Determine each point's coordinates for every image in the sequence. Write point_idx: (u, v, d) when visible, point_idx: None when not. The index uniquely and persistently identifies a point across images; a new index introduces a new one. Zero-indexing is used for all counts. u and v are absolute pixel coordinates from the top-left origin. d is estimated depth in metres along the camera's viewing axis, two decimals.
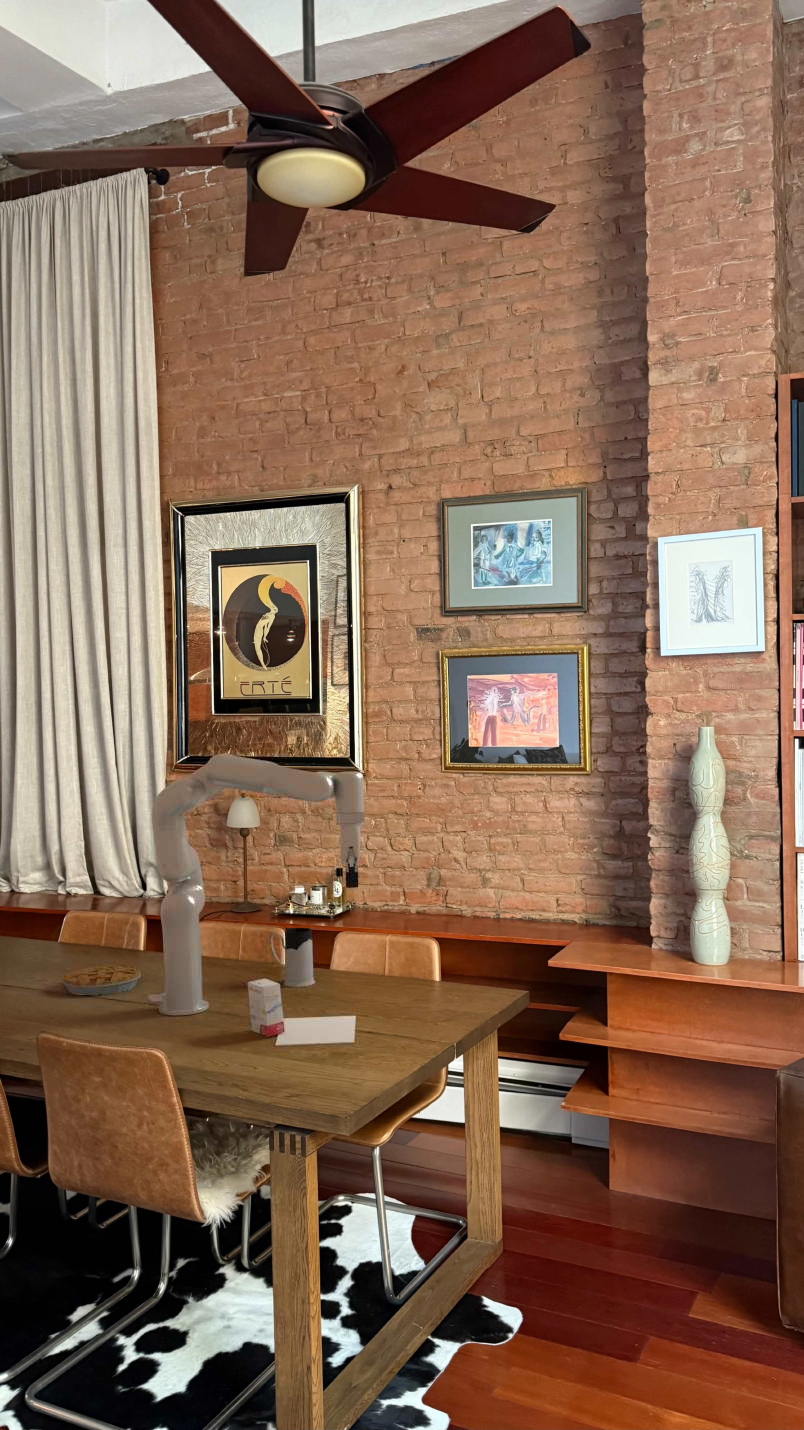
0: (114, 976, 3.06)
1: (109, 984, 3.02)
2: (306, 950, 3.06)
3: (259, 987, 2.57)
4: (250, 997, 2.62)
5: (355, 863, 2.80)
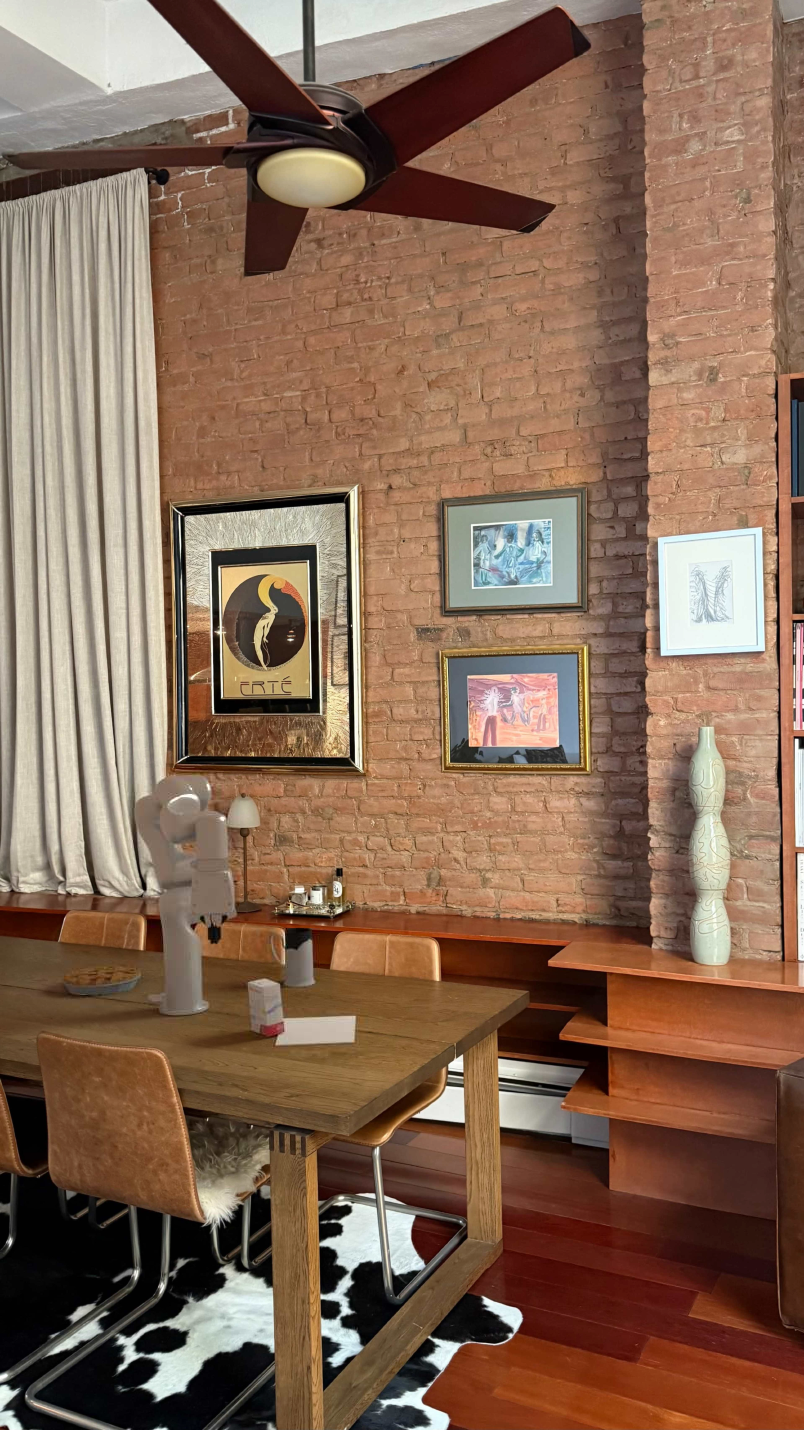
0: (114, 976, 3.06)
1: (109, 984, 3.02)
2: (306, 950, 3.06)
3: (259, 987, 2.57)
4: (250, 997, 2.62)
5: None
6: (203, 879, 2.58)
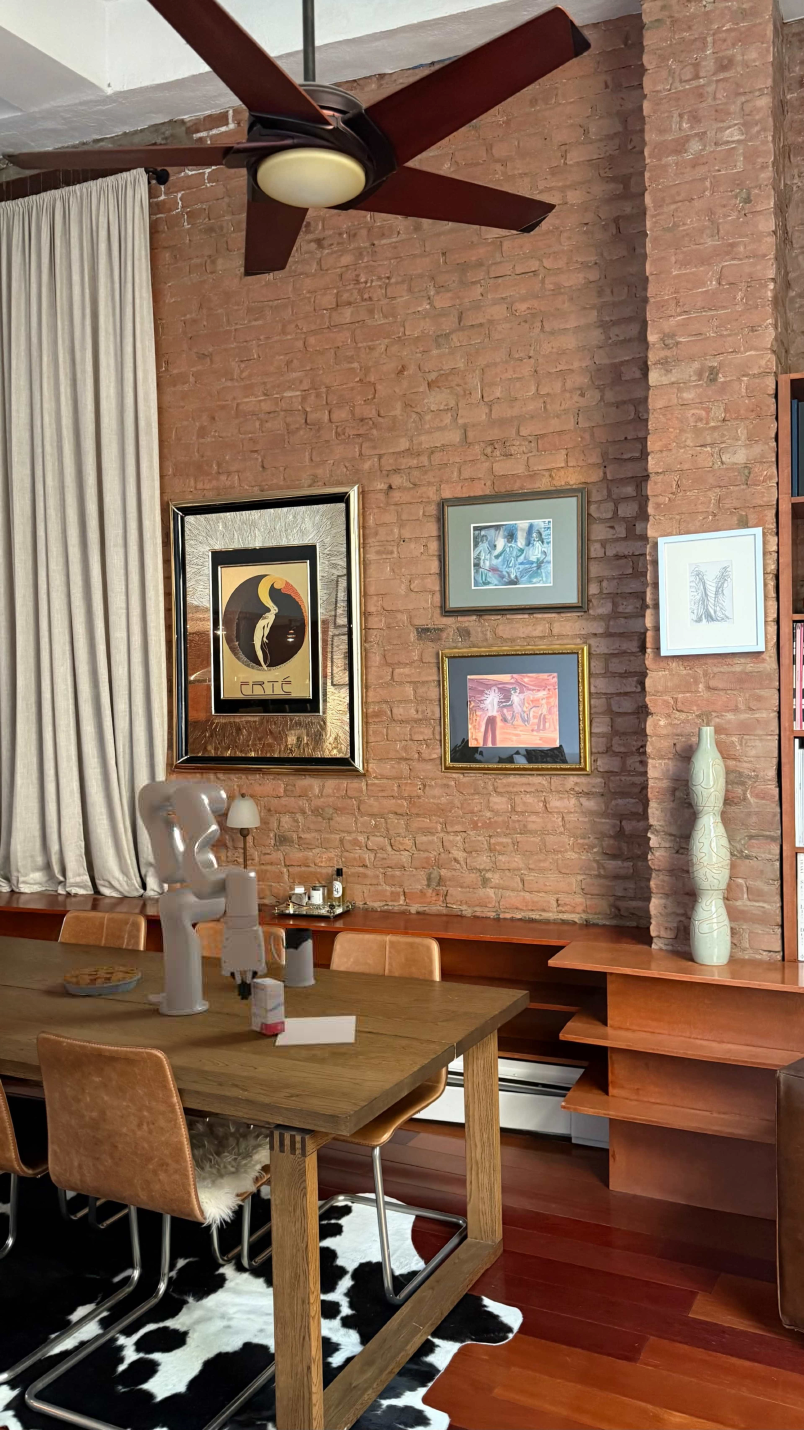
0: (114, 976, 3.06)
1: (109, 984, 3.02)
2: (306, 950, 3.06)
3: (263, 984, 2.58)
4: (253, 995, 2.62)
5: (253, 972, 2.61)
6: (234, 936, 2.58)
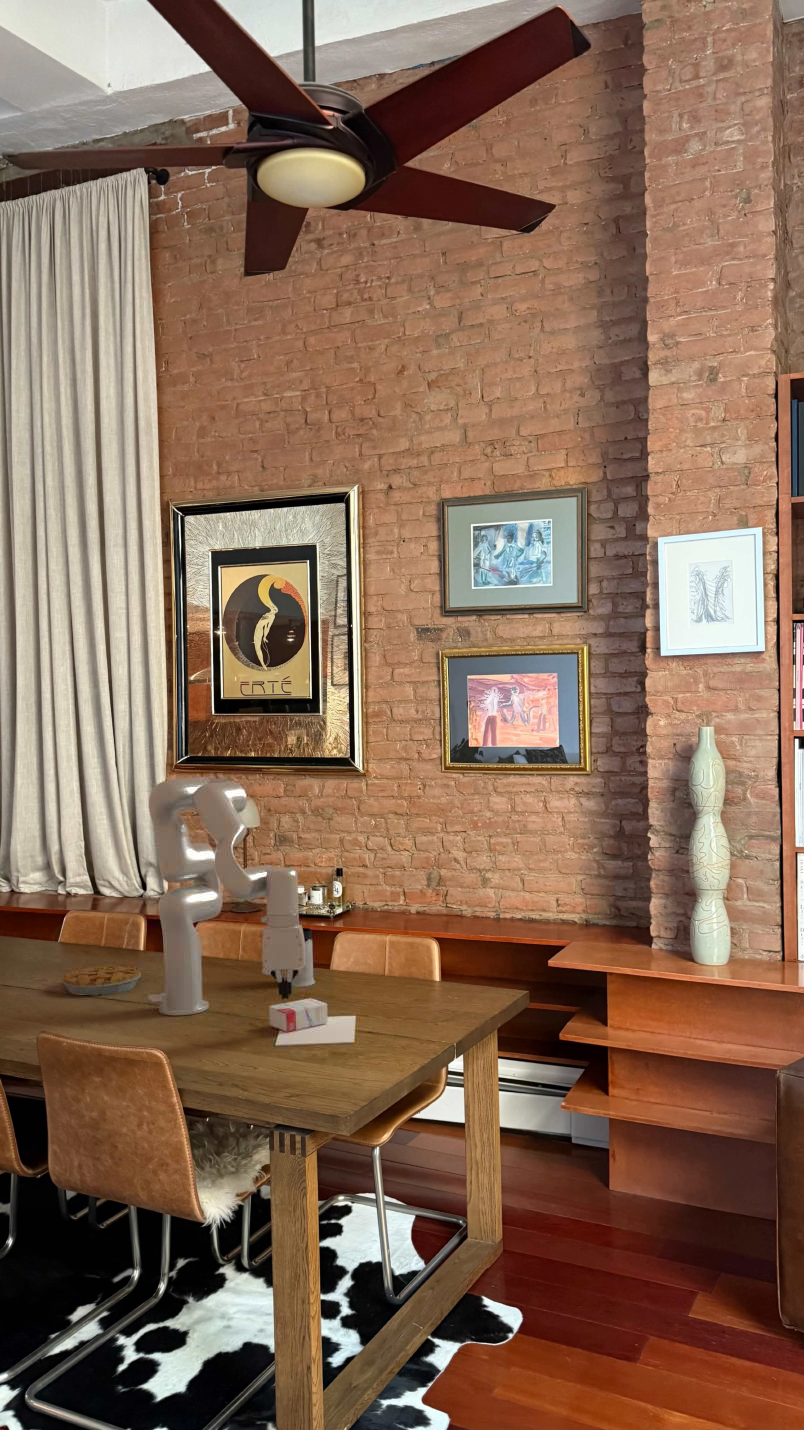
0: (114, 976, 3.06)
1: (109, 984, 3.02)
2: (306, 950, 3.06)
3: (323, 1002, 2.67)
4: (300, 1001, 2.69)
5: (293, 971, 2.62)
6: (275, 935, 2.58)
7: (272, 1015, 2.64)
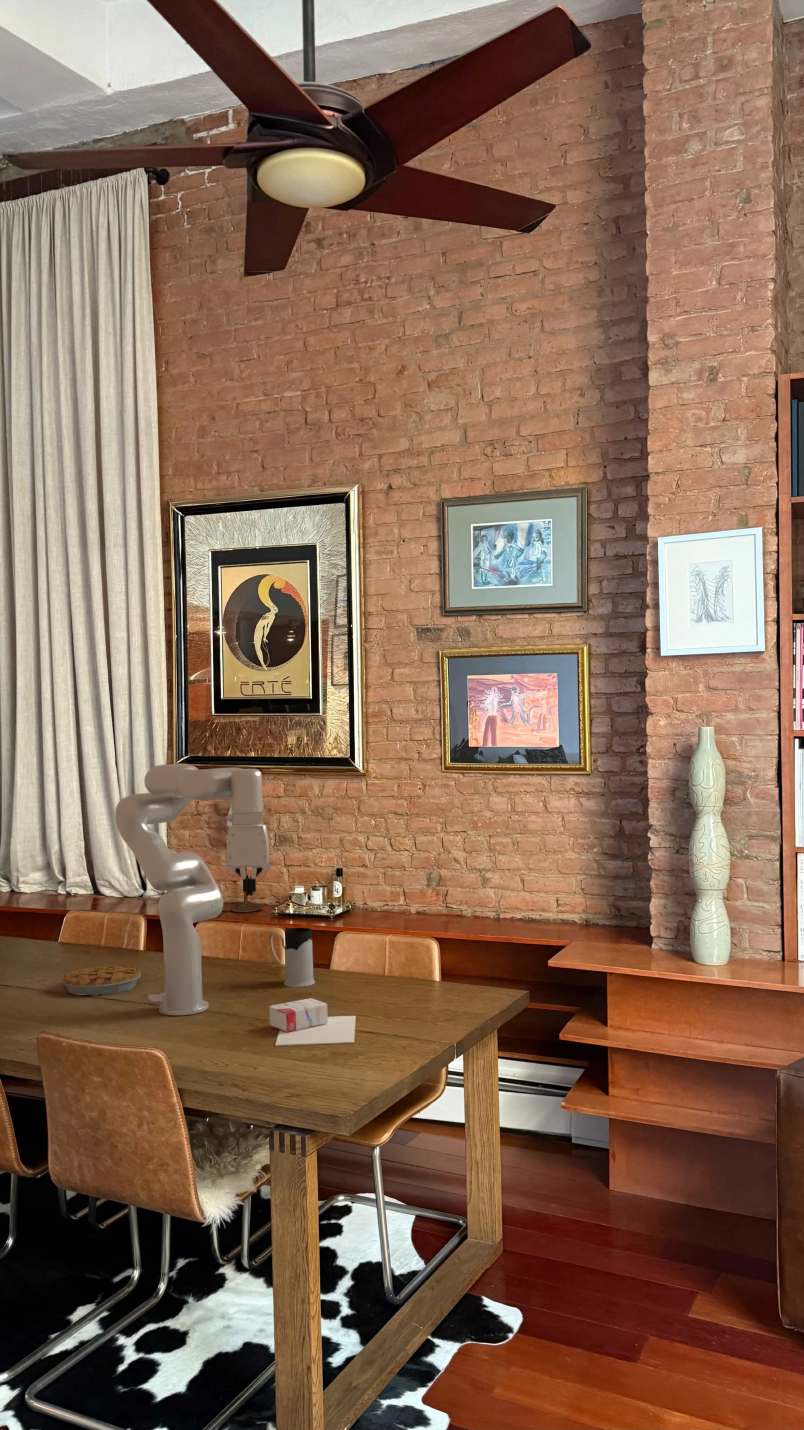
0: (114, 976, 3.06)
1: (109, 984, 3.02)
2: (306, 950, 3.06)
3: (323, 1003, 2.67)
4: (300, 1000, 2.69)
5: (257, 869, 2.68)
6: (239, 832, 2.64)
7: (272, 1015, 2.64)
